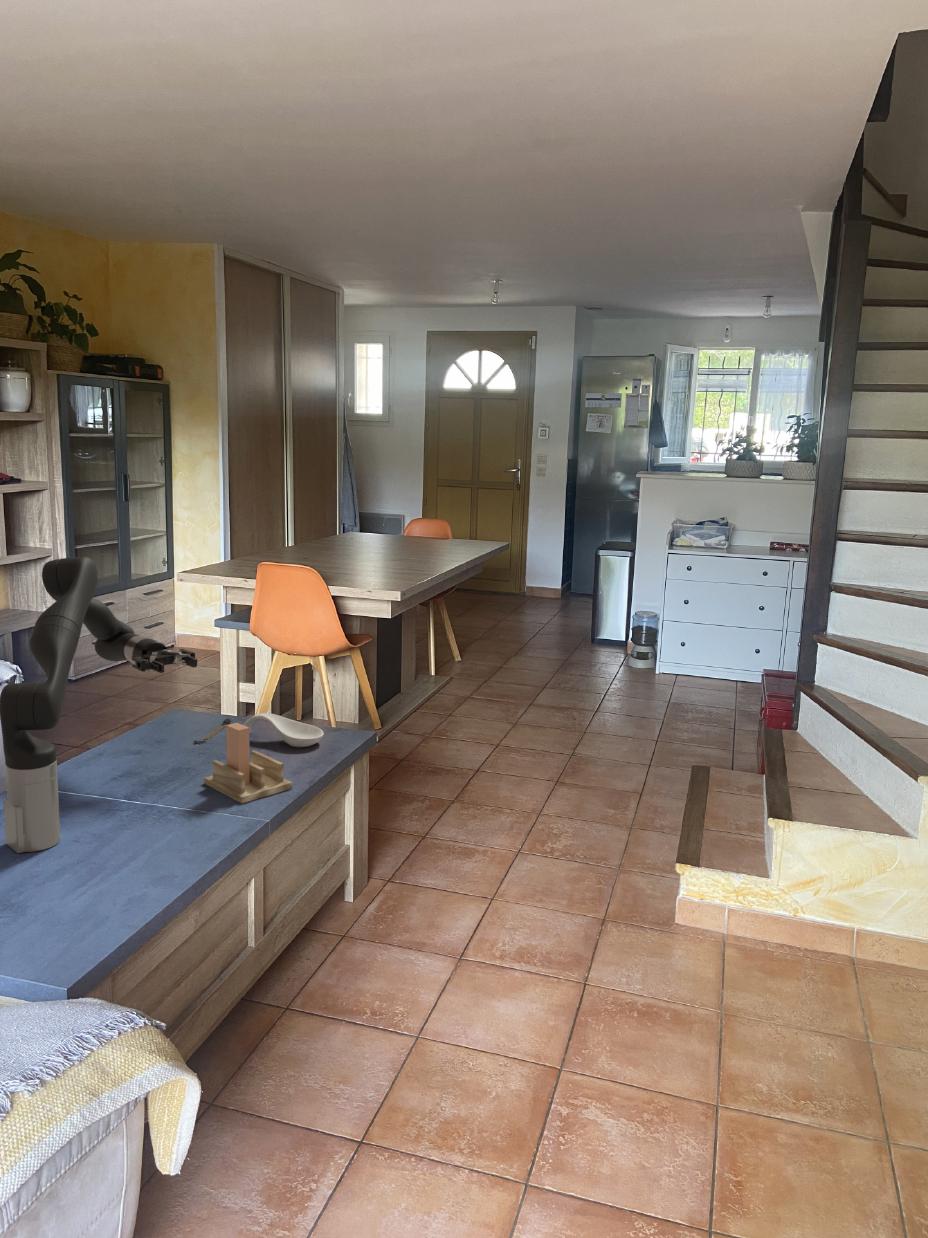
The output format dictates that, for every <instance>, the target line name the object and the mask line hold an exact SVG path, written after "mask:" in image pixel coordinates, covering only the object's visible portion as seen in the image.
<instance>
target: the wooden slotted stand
mask: <svg viewBox="0 0 928 1238" xmlns="http://www.w3.org/2000/svg"><path fill="white" fill-rule="evenodd" d="M250 752H251V753H250V754H251V755H250V757H251V761H250V784H249V785H245V774H243V773H241V772H239V771H237V770H235V769H233V768H231V767H229V766H227V764H225V763H224V762H221V761H220V760H217V759H215V760H212V774H211V775H210V776H209V775H208V776H205V777H204V778H203V779H204V781H203V782H204V783H203V784H205V785H206V786H208V787H209V788H211V789H213V790H216V791H218V792H220V793H221V794H223V795H225V796H227V797H229V798H231V799H232V800H234V801H236V802H238V803H240V804H244V803H249V802H253V801H255V800H259V799H261V798H265V797H268V796H272V795H274V794H278V793H282V792H284V791H288V790H291V789H293V782H292V781H290V780H288V779H287V778H284V762H281V761H279V760H277V759H274V758H273V757H270V756H269V755H266V754H264V753H261V752H260V751H257V750H254V749H253V750H250ZM258 798H259V799H258Z"/></svg>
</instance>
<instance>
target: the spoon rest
mask: <svg viewBox="0 0 928 1238" xmlns="http://www.w3.org/2000/svg"><path fill="white" fill-rule="evenodd" d="M257 720H265V721H266V722H269V723H270V725H272V727H273V729H275V730H276V732H277V734H278V735H279V736H280V737H281V740H283V741H284V742H285V743H286V744H288V745H289V746H290V747H293V748H306V747H311V746H313V745H315V744H317V743H318V742H319V741H320V740H322V738H323V737H324V734H325V733H324V730H322V729H321V728H320V727H317V726H315V725H312V724H307V723H304V722H300V721H297V720H294V719H290V718H287V717H285V716H281V715H279V714H278V715H277V714H274V713H270V712H261V713H258V714H254V715H253V716H251V717H249V718H248V719H246V721H244V723H243V724H242V725H244V726H246V727H249V735H250V734H251V733H252V725H253V723H254V722H255V721H257Z"/></svg>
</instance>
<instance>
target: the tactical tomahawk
mask: <svg viewBox="0 0 928 1238" xmlns="http://www.w3.org/2000/svg"><path fill="white" fill-rule="evenodd" d="M231 722H232V719H231V718H224V719H223V721H222V723H221V724H220V725H218V726H216V727H215V728H214V729H213V730H212V731H211V732H210V733H209V734H207V735H206V736H205V737H204V738H202V740H204V741H202V740H193V742H194V743H195V744H194V743H193V744H194V745H201V744H205V743H201V742H207V741H205V740H208V739H209V740H211V738H213V737H214V736H215V735H216V733H217V732H218V731H219V732H221V731H222V730H223V729H224V728H226V727H225V726H226V725H229V724H230V723H231ZM222 728H223V729H222ZM221 729H222V730H221ZM219 732H218V733H219ZM218 733H217V734H218ZM213 735H214V736H213ZM212 736H213V737H212ZM198 742H200V743H198ZM196 743H197V744H196Z"/></svg>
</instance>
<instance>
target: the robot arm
mask: <svg viewBox="0 0 928 1238" xmlns="http://www.w3.org/2000/svg"><path fill="white" fill-rule="evenodd" d="M96 565H97V564H96V563H95V562H94V560H93V559H92V558H91V557H88V556H72V557H64V558H63V557H62V558H57V559H52V560H49V561H47V562H45V563H44V565H43V566H42V569H41V580H42V584H43V587H44V589H45V591H46V593H47V595H49V596H50V597H51V598H52V599H53V600H54V601H55V602H54V603H52V604H51V605H50V606H49V607H48V608H46V609H45V610H44V611H43V612H42V613H41V614H40V615H39V617H38V618H37V620H36V622H35V623H34V626H33V630H32V632H31V633H32V634H31V636H30V639H29V648H30V651H31V654H32V656H33V658H34V659H35V660H36V661H35V662H37V663H38V665H39V666H40V668H41V669H42V670H43V672H44V674H45V676H46V678H47V680H46V681H45V682H31V683H30V682H16V683H15V682H14V683H13V682H12V683H8V684H6V685H4V687H3V688H2V689H1V691H0V727H1V734H2V736H1V737H2V746H3V747H2V748H3V755H4V762H5V763H4V764H5V779H6V780H5V781H6V797H7V798H5V799H3V810H4V811H3V812H4V815H3V816H4V829H5V831H4V832H5V843H6V845H7V846H8V847H9V848H11V849H12V850H13V851H14V852H15V853H16V854H21V853H25V852H26V853H31V852H40V851H43V850H47V849H50V848H52V847H54V846H56V845H57V844H58V843H59V842H60V841H61V827H60V803H59V786H58V785H59V784H58V783H59V782H58V781H59V780H58V764H57V763H58V760H57V748H56V747H55V746H56V745H54V744H53V743H51V742H49V741H46V740H44V739H41V738H38V737H35V736H33V735H32V734H31V733H30V732H28V731H45V730H51V729H54V728H55V727H57V726H58V724H59V723H60V720H61V716H62V714H63V710H64V705H65V699H66V693H67V686H68V679H69V675H70V671H71V668H72V664H73V661H74V658H75V656H76V655H75V654H76V651H77V649H78V645H79V640H80V638H81V632H82V628H83V624H84V626H85V628H86V629H87V630H88V632H90V634H91V635H92V636H93V638H96V641H95V643H94V650H95V653H96V654H97V655H98V656H99V657H100V658H102V659H104V660H106V661H109V662H110V661H111V662H122V661H123V662H124V661H127V662H130V663H131V667H132V668H134V669H135V670H138V671H139V672H146V671H150V672H156V673H160V674H164V673H165V667H169V666H171V667H172V666H173V667H179V666H181V665H186V666H189V667H191V668H197V666H198V659H197V658H196V652H193V651H191V650H187V649H184V648H180V649H179V650H178V651H175V650H170V649H168V648H167V646H166V645H165V643H163V642H162V641H161V642H160V641H159V640H155V639H153V638H150V637H148V636H141V635H139V634H136V633H135V630H134V629H133V628H132V627H131V626H130V625H128V624H127V623H125V622H123V621H121V620H119V619H118V618H117V617H116V616H115V614H114V613H113V612H112V610H111V609H110V608H109V607H108V606H107V605H106V604H105V603H104V602H102V601H101V600H99V599H97V598H94V595H95V593H96V589H97V586H98V581H99V580H98V579H99V575H98V574H99V573H98V569H97V566H96ZM175 661H176V662H175Z"/></svg>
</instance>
